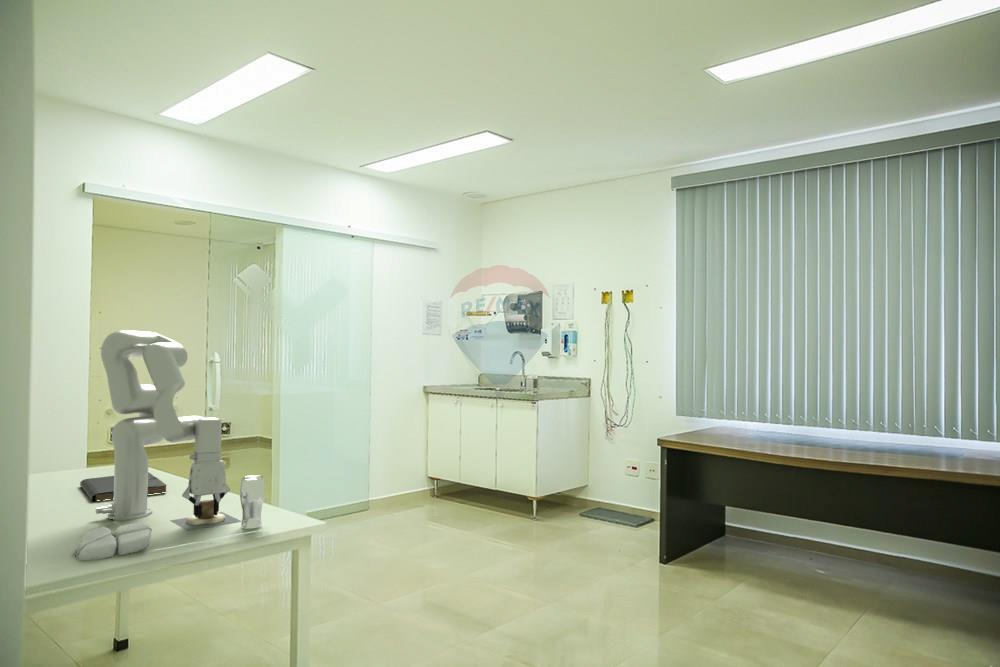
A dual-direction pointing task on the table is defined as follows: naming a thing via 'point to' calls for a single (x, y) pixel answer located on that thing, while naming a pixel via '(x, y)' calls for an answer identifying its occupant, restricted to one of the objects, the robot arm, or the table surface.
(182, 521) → the mat
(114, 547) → the lung model
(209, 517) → the lid
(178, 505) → the table surface
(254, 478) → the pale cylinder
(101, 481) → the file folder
